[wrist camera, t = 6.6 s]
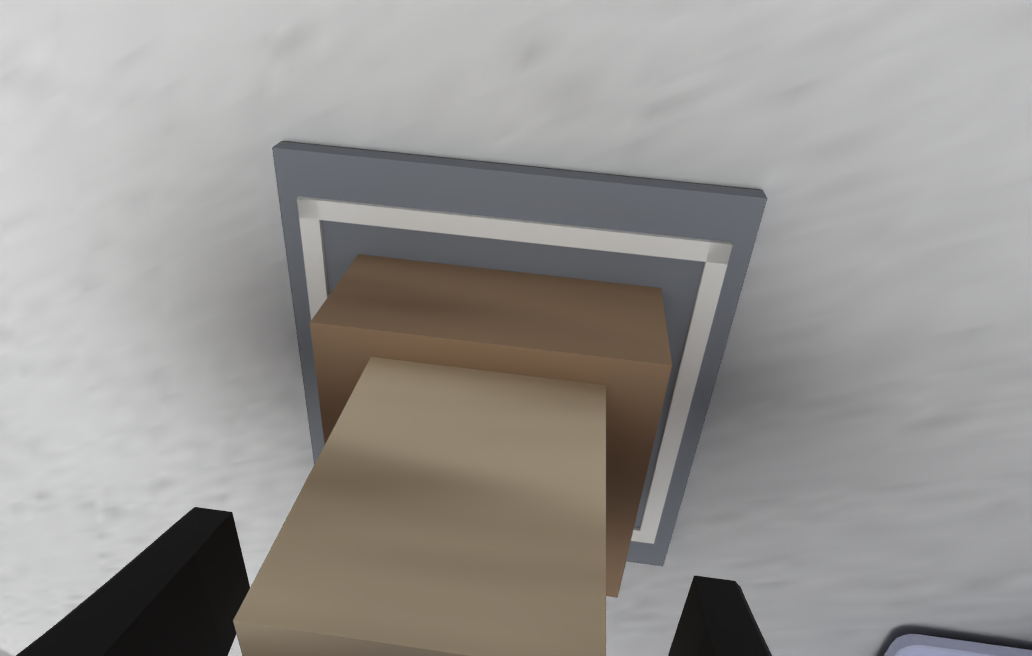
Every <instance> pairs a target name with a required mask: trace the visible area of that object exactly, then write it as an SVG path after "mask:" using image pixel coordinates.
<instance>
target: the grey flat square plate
mask: <svg viewBox="0 0 1032 656" xmlns="http://www.w3.org/2000/svg"><path fill="white" fill-rule="evenodd" d="M272 149H273V157H274V164H275V172H276V179H277V187H278V194H279V202H280V209H281V217H282V224H283V232H284V239H285V247H286V254H287V262H288V270H289V277H290V285H291V292H292V300H293V307H294V315H295V322H296V330H297V337H298V345H299V352H300V360H301V367H302V375H303V382H304V390H305V397H306V405H307V412H308V420H309V427H310V435H311V442H312V450H313V457H314V465H315V463H316V461H317V459H318V457H319V455H320V453H321V451H322V450H323V448H324V446H325V445H324V437H323V428H322V420H321V412H320V403H319V395H318V386H317V378H316V370H315V361H314V353H313V345H312V336H311V328H310V321H311V320H312V319H313V317H314V316H315V314H316V313H317V312H318V310H319V309H320V307H321V306H322V305H323V303H324V302H325V300H326V299H327V298H328V296H329V295H330V293H331V292H332V291H333V289H334V288H335V286H336V285H337V284H338V282H339V281H340V279H341V278H342V277H343V275H344V274H345V272H346V271H347V270H348V268H349V267H350V265H351V264H352V262H353V261H354V260H355V258H356V257H357V255H358V254H362V255H371V256H380V257H388V258H397V259H406V260H415V261H424V262H433V263H442V264H451V265H460V266H469V267H478V268H487V269H496V270H505V271H514V272H523V273H532V274H541V275H550V276H559V277H568V278H577V279H586V280H595V281H604V282H613V283H622V284H631V285H640V286H649V287H657V288H661V291H662V298H663V305H664V312H665V319H666V326H667V333H668V340H669V347H670V354H671V361H672V368H671V372H670V377H669V381H668V385H667V389H666V394H665V398H664V402H663V406H662V411H661V415H660V419H659V423H658V428H657V432H656V436H655V440H654V444H653V449H652V453H651V457H650V461H649V466H648V470H647V474H646V478H645V483H644V487H643V491H642V495H641V500H640V504H639V508H638V512H637V517H636V521H635V525H634V529H633V534H632V538H631V542H630V546H629V551H628V555H627V559H626V561H628V562H636V563H643V564H650V565H658V566H663V565H664V561H665V558H666V554H667V551H668V547H669V543H670V540H671V536H672V533H673V529H674V526H675V522H676V519H677V515H678V512H679V508H680V505H681V501H682V497H683V494H684V490H685V487H686V483H687V480H688V476H689V473H690V469H691V466H692V462H693V459H694V455H695V452H696V448H697V444H698V441H699V437H700V434H701V430H702V427H703V423H704V420H705V416H706V413H707V409H708V406H709V402H710V399H711V395H712V391H713V388H714V384H715V381H716V377H717V374H718V370H719V367H720V363H721V360H722V356H723V353H724V349H725V346H726V342H727V338H728V335H729V331H730V328H731V324H732V321H733V317H734V314H735V310H736V307H737V303H738V300H739V296H740V293H741V289H742V285H743V282H744V278H745V275H746V271H747V268H748V264H749V261H750V257H751V254H752V250H753V247H754V243H755V240H756V236H757V232H758V229H759V225H760V222H761V218H762V215H763V211H764V208H765V204H766V201H767V197H766V196H765V194H764V192H763V190H754V189H744V188H735V187H725V186H715V185H705V184H695V183H685V182H676V181H666V180H656V179H646V178H636V177H626V176H617V175H607V174H597V173H587V172H577V171H568V170H558V169H548V168H538V167H528V166H518V165H509V164H499V163H489V162H479V161H469V160H459V159H450V158H440V157H430V156H420V155H410V154H401V153H391V152H381V151H371V150H361V149H351V148H342V147H332V146H322V145H312V144H302V143H292V142H283V141H281V142H280V143H278V144H277V145H275V146H274V147H273V148H272Z"/></svg>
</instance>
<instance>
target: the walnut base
mask: <svg viewBox="0 0 1032 656" xmlns="http://www.w3.org/2000/svg"><path fill="white" fill-rule="evenodd" d="M310 328H311V336H312V345H313V353H314V361H315V370H316V378H317V386H318V395H319V403H320V412H321V420H322V428H323V437H324V445H325V444H326V442H327V440H328V438H329V436H330V434H331V432H332V430H333V428H334V427H335V425H336V423H337V421H338V419H339V417H340V415H341V413H342V411H343V409H344V407H345V405H346V404H347V402H348V400H349V398H350V396H351V394H352V392H353V390H354V388H355V386H356V384H357V383H358V381H359V379H360V377H361V375H362V373H363V371H364V369H365V367H366V365H367V363H368V361H369V360H370V358H371V357H376V358H384V359H393V360H401V361H409V362H417V363H426V364H434V365H442V366H450V367H459V368H467V369H475V370H483V371H492V372H500V373H508V374H516V375H525V376H533V377H541V378H549V379H557V380H566V381H574V382H582V383H590V384H599V385H606V596H611V597H618V593H619V589H620V585H621V580H622V576H623V572H624V568H625V563H626V559H627V555H628V551H629V546H630V542H631V538H632V534H633V529H634V525H635V521H636V517H637V512H638V508H639V504H640V500H641V495H642V491H643V487H644V483H645V478H646V474H647V470H648V466H649V461H650V457H651V453H652V449H653V444H654V440H655V436H656V432H657V428H658V423H659V419H660V415H661V411H662V406H663V402H664V398H665V394H666V389H667V385H668V381H669V377H670V372H671V368H672V361H671V354H670V347H669V340H668V333H667V326H666V319H665V312H664V305H663V298H662V291H661V288H657V287H649V286H640V285H631V284H622V283H613V282H604V281H595V280H586V279H577V278H568V277H559V276H550V275H541V274H532V273H523V272H514V271H505V270H496V269H487V268H478V267H469V266H460V265H451V264H442V263H433V262H424V261H415V260H406V259H397V258H388V257H380V256H371V255H362V254H358V255H357V257H356V258H355V260H354V261H353V262H352V264H351V265H350V267H349V268H348V270H347V271H346V272H345V274H344V275H343V277H342V278H341V279H340V281H339V282H338V284H337V285H336V286H335V288H334V289H333V291H332V292H331V293H330V295H329V296H328V298H327V299H326V300H325V302H324V303H323V305H322V306H321V307H320V309H319V310H318V312H317V313H316V314H315V316H314V317H313V319H312V320H311V321H310Z"/></svg>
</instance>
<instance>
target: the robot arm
mask: <svg viewBox="0 0 1032 656" xmlns="http://www.w3.org/2000/svg"><path fill="white" fill-rule="evenodd" d="M249 589H250V586H249V581H248V577H247V573H246V569H245V564H244V560H243V556H242V552H241V548H240V543H239V539H238V535H237V531H236V526H235V522H234V518H233V514H232V512H227V511H220V510H213V509H205V508H198V507H195V508H193V509H192V510H190V511H189V512H188V513H187V514H186V515H184V516H183V517H182V518H181V519H180V520H179V521H177V522H176V523H175V524H174V525H173V526H172V527H170V528H169V529H168V530H167V531H166V532H165V533H163V534H162V535H161V536H160V537H159V538H158V539H156V540H155V541H154V542H153V543H152V544H151V545H150V546H148V547H147V548H146V549H145V550H144V551H143V552H141V553H140V554H139V555H138V556H137V557H136V558H134V559H133V560H132V561H131V562H130V563H129V564H127V565H126V566H125V567H124V568H123V569H122V570H120V571H119V572H118V573H117V574H116V575H115V576H113V577H112V578H111V579H110V580H109V581H108V582H106V583H105V584H104V585H103V586H102V587H100V588H99V589H98V590H97V591H96V592H94V593H93V594H92V595H91V596H90V597H88V598H87V599H86V600H85V601H83V602H82V603H81V604H80V605H79V606H77V607H76V608H75V609H74V610H73V611H71V612H70V613H69V614H68V615H67V616H65V617H64V618H63V619H62V620H61V621H59V622H58V623H57V624H56V625H54V626H53V627H52V628H51V629H49V630H48V631H47V632H46V633H44V634H43V635H42V636H41V637H39V638H38V639H37V640H36V641H34V642H33V643H32V644H30V645H29V646H28V647H26V648H25V649H24V650H23V651H21V652H20V653H19V654H17V655H16V656H228V653H229V651H230V648H231V646H232V643H233V641H234V638H235V636H236V634H237V633H236V630H235V626H234V622H233V620H234V618H235V616H236V614H237V612H238V610H239V608H240V607H241V605H242V603H243V601H244V599H245V597H246V595H247V593H248V591H249ZM669 656H772V655H771V653H770V651H769V648H768V646H767V644H766V642H765V640H764V638H763V636H762V634H761V632H760V629H759V627H758V625H757V623H756V621H755V619H754V616H753V614H752V612H751V610H750V608H749V605H748V603H747V601H746V599H745V596H744V594H743V592H742V589H741V587H740V586H739V585H738V584H737V583H736V581H731V580H723V579H716V578H709V577H701V576H694V578H693V581H692V584H691V587H690V590H689V593H688V596H687V599H686V602H685V605H684V608H683V611H682V615H681V618H680V621H679V624H678V627H677V630H676V633H675V636H674V639H673V642H672V645H671V648H670V651H669ZM884 656H1032V650H1027V649H1020V648H1013V647H1006V646H999V645H992V644H984V643H977V642H970V641H963V640H956V639H949V638H941V637H934V636H927V635H920V634H906V635H902V636H900V637H898V638H896V639H895V640H894V641H893V642H892V644H891V645H890V647H889V648H888V650H887V652H886V653H885V655H884Z"/></svg>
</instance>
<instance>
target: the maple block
mask: <svg viewBox="0 0 1032 656" xmlns="http://www.w3.org/2000/svg"><path fill="white" fill-rule="evenodd" d="M233 622H234V626H235V630H236V633H237V637H238V641H239V645H240V648H241V652H242V656H606V385H599V384H590V383H582V382H574V381H566V380H557V379H549V378H541V377H533V376H525V375H516V374H508V373H500V372H492V371H483V370H475V369H467V368H459V367H450V366H442V365H434V364H426V363H417V362H409V361H401V360H393V359H384V358H376V357H371V358H370V360H369V361H368V363H367V365H366V367H365V369H364V371H363V373H362V375H361V377H360V379H359V381H358V383H357V384H356V386H355V388H354V390H353V392H352V394H351V396H350V398H349V400H348V402H347V404H346V405H345V407H344V409H343V411H342V413H341V415H340V417H339V419H338V421H337V423H336V425H335V427H334V428H333V430H332V432H331V434H330V436H329V438H328V440H327V442H326V444H325V446H324V448H323V450H322V451H321V453H320V455H319V457H318V459H317V461H316V463H315V465H314V467H313V469H312V471H311V472H310V474H309V476H308V478H307V480H306V482H305V484H304V486H303V488H302V490H301V492H300V494H299V495H298V497H297V499H296V501H295V503H294V505H293V507H292V509H291V511H290V513H289V515H288V517H287V518H286V520H285V522H284V524H283V526H282V528H281V530H280V532H279V534H278V536H277V538H276V540H275V541H274V543H273V545H272V547H271V549H270V551H269V553H268V555H267V557H266V559H265V561H264V562H263V564H262V566H261V568H260V570H259V572H258V574H257V576H256V578H255V580H254V582H253V584H252V585H251V587H250V589H249V591H248V593H247V595H246V597H245V599H244V601H243V603H242V605H241V607H240V608H239V610H238V612H237V614H236V616H235V618H234V620H233Z"/></svg>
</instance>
